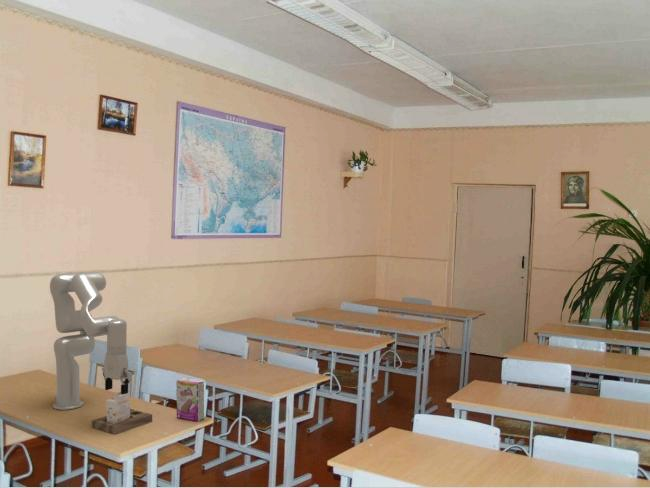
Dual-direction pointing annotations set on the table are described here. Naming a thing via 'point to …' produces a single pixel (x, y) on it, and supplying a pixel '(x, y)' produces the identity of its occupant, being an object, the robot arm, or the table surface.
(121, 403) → the ink cartridge box
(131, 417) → the socket holder
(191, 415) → the candy bar box
